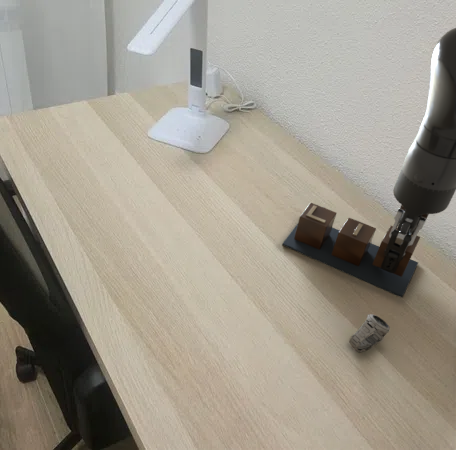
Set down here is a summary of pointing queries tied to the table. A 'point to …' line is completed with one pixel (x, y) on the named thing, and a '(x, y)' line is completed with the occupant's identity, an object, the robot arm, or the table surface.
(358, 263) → the tile
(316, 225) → the tile
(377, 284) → the mat
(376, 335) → the silver wristwatch
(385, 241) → the tile
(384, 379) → the table surface
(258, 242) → the table surface
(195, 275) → the table surface
